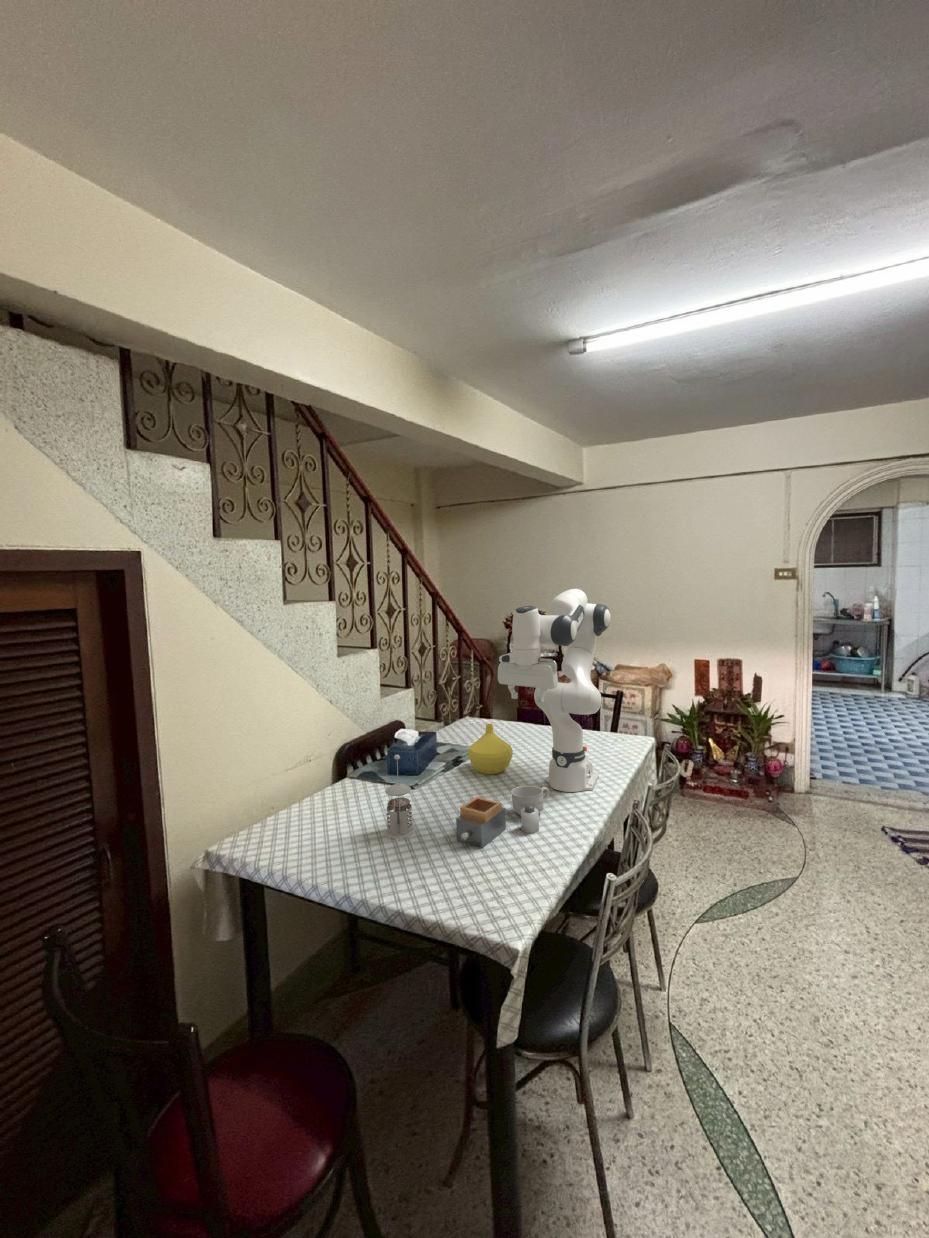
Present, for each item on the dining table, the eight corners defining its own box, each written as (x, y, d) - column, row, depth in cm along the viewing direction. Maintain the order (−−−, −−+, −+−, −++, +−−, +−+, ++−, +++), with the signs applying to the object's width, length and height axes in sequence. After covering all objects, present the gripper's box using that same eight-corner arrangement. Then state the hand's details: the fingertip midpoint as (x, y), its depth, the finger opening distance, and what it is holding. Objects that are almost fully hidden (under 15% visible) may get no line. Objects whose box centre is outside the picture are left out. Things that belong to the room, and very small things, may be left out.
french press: (416, 823, 176) (413, 749, 174) (414, 841, 165) (411, 761, 163) (386, 825, 176) (382, 750, 174) (382, 842, 165) (378, 762, 163)
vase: (514, 777, 213) (513, 730, 212) (468, 779, 214) (466, 731, 212) (511, 762, 232) (510, 718, 230) (468, 763, 232) (467, 719, 231)
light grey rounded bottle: (526, 823, 174) (525, 801, 173) (541, 827, 171) (541, 804, 170) (518, 830, 169) (517, 807, 169) (533, 835, 166) (533, 811, 166)
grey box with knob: (481, 822, 176) (480, 794, 175) (506, 829, 170) (505, 800, 170) (450, 844, 162) (449, 814, 161) (476, 853, 156) (475, 821, 156)
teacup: (518, 822, 175) (517, 798, 174) (507, 809, 185) (506, 786, 185) (558, 816, 179) (557, 792, 178) (544, 803, 189) (544, 781, 188)
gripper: (561, 657, 169) (561, 701, 170) (504, 654, 181) (505, 695, 182) (552, 660, 164) (553, 705, 165) (494, 656, 176) (495, 698, 177)
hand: (527, 699), depth 173 cm, fingers open, 8 cm apart
